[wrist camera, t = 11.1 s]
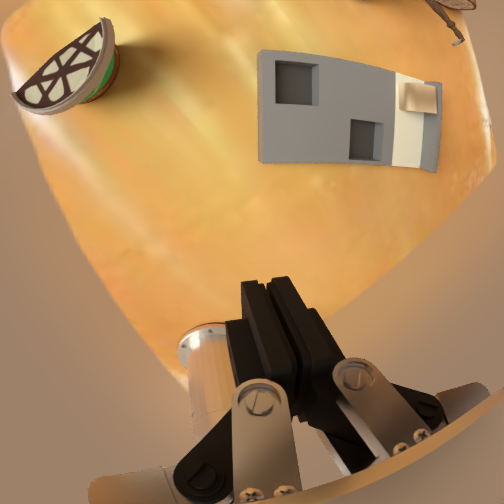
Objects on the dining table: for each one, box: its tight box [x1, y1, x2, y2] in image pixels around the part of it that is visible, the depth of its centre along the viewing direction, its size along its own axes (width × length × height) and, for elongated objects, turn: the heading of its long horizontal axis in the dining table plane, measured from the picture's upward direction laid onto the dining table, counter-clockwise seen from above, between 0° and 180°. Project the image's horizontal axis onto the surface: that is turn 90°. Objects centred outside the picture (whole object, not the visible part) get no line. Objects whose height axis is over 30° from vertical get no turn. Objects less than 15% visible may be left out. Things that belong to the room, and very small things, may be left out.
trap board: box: [257, 50, 442, 173], centre depth 31 cm, size 14×26×6 cm, turn 91°
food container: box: [10, 17, 120, 115], centre depth 21 cm, size 12×6×10 cm, turn 117°
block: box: [397, 83, 437, 114], centre depth 29 cm, size 4×4×4 cm
